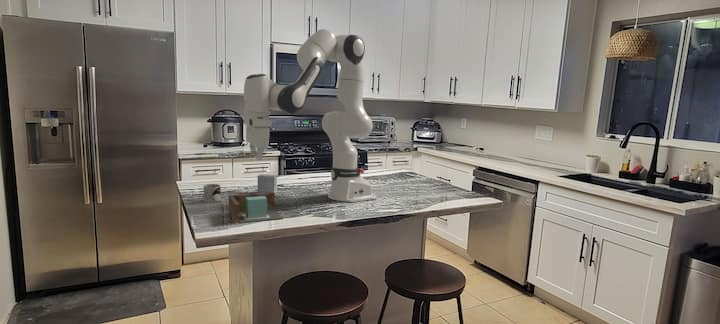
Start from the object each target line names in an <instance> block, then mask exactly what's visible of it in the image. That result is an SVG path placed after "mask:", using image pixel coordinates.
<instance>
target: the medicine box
mask: <svg viewBox="0 0 720 324" xmlns="http://www.w3.org/2000/svg"><path fill="white" fill-rule="evenodd" d="M277 176H278V175H277V174H270V173H259V174H258V175H257V193H271V192H274V193H275V194H277V192H278V182H277V181H278V177H277Z"/></svg>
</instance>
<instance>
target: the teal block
mask: <svg viewBox="0 0 720 324" xmlns="http://www.w3.org/2000/svg"><path fill="white" fill-rule="evenodd" d="M246 216H247V218H259V217H267V198H266V197H265V196H258V197H246Z"/></svg>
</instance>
